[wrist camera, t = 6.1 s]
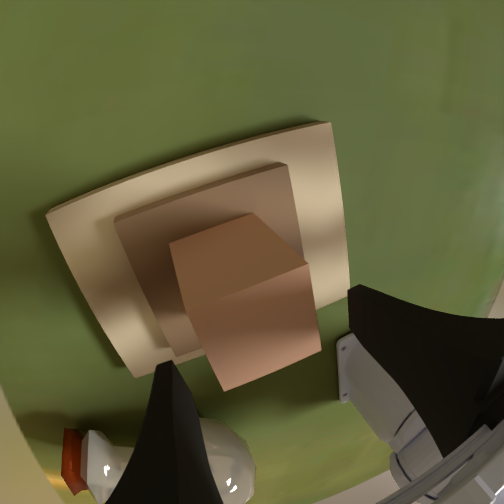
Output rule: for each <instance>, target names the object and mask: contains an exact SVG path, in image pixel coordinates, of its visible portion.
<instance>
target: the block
mask: <svg viewBox="0 0 504 504" xmlns="http://www.w3.org/2000/svg"><path fill="white" fill-rule="evenodd" d="M169 246H170V250H171V255H172V259H173V263H174V267H175V271H176V276H177V280H178V284H179V288H180V291H181V295H182V299H183V303H184V307H185V311H186V313H187V315H188V318H189V320H190V322H191V324H192V326H193V329H194V331H195V333H196V335H197V337H198V339H199V341H200V344H201V346H202V348H203V350H204V352H205V354H206V356H207V358H208V360H209V362H210V364H211V366H212V368H213V371H214V373H215V375H216V377H217V379H218V381H219V383H220V385H221V386H222V388H223V390H224V392H225V391H227V390H230V389H232V388H235V387H238V386H240V385H243V384H245V383H248V382H250V381H253V380H255V379H258V378H260V377H263V376H265V375H267V374H270V373H272V372H274V371H277V370H279V369H281V368H284V367H286V366H288V365H290V364H293V363H295V362H297V361H299V360H302V359H304V358H306V357H308V356H310V355H312V354H315V353H317V352H319V351H321V343H320V336H319V328H318V321H317V314H316V308H315V301H314V294H313V288H312V282H311V275H310V269H309V264H308V263H307V262H306V261H305V260H304V259H303V258H302V257H301V256H300V255H299V254H298V253H297V252H296V251H295V250H293V249H292V248H291V247H290V246H289V245H288V244H287V243H286V242H285V241H284V240H283V239H282V238H281V237H279V236H278V235H277V234H276V233H275V232H274V231H273V230H272V229H271V228H270V227H269V226H268V225H266V224H265V223H264V222H263V221H262V220H261V219H260V218H259V217H258V216H257V215H255V214H254V213H252V214H249V215H246V216H243V217H240V218H238V219H235V220H232V221H229V222H226V223H223V224H221V225H218V226H215V227H212V228H209V229H207V230H204V231H201V232H198V233H196V234H193V235H190V236H188V237H185V238H182V239H179V240H177V241H174V242H171V243H169Z"/></svg>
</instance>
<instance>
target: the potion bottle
mask: <svg viewBox="0 0 504 504" xmlns="http://www.w3.org/2000/svg"><path fill="white" fill-rule="evenodd" d="M199 420H200V425H201V430H202V434H203V439H204V443H205V448H206V452H207V457H208V461H209V465H210V468H211V472H212V475H213V477H214V480H215V483H216V485H217V488H218V491H219V493H220V496H221V498H222V501H223V503H224V504H245V503H246V502H247V501H248V500H249V499H250V498H251V497H252V496H253V495H254V491H255V479H256V465H255V461H254V459H253V457H252V454H251V452H250V450H249V447H248V445H247V442H246V440H245V439H244V438H242V437H241V436H240V435H238V434H237V433H236V432H234V431H233V430H232V429H231V428H229V427H228V426H227V425H226V424H224V423H223V422H222V421H221V420H214V419H207V418H200V417H199ZM134 448H135V447H134V446H123V445H116V444H115V443H114V442H112V441H111V440H110V439H109V438H108V437H107V436H106V435H105V434H103V433H102V432H101V431H100V430H89V431H88V432H87V434H86V435H85V436H83V435H82V434H81V433H80V432H79V431H78V429H68V428H64V438H63V451H62V467H61V476H62V477H63V479H64V481H65V482H66V484H67V485H68V487H69V488H70V490H71V492H72V493H73V495H74V496H75V495H76V494H77V493H79V492H80V491H81V490H88V491H89V492H90V493H91V495H92V496H93V498H94V499H95V500H96V502H97V503H98V504H102V503H103V502H105V501H106V500H107V499H108V498H109V497H110V495H111V494H112V492H113V490H114V488H115V487H116V485H117V483H118V481H119V480H120V478H121V476H122V474H123V472H124V470H125V468H126V466H127V464H128V462H129V459H130V457H131V455H132V453H133V450H134Z"/></svg>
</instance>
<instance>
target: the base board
mask: <svg viewBox="0 0 504 504" xmlns="http://www.w3.org/2000/svg"><path fill="white" fill-rule="evenodd" d="M252 213H254V214H255V215H257V216H258V217H259V218H260V219H261V220H262V221H263V222H264V223H265V224H266V225H268V226H269V227H270V228H271V229H272V230H273V231H274V232H275V233H276V234H277V235H278V236H279V237H281V238H282V239H283V240H284V241H285V242H286V243H287V244H288V245H289V246H290V247H291V248H292V249H293V250H295V251H296V252H297V253H298V254H299V255H300V256H301V257H302V258H303V259H304V260H305V261H306V262H307V263H308V264H309V269H310V275H311V282H312V288H313V294H314V301H315V308H316V310H317V309H319V308H322V307H324V306H326V305H328V304H331V303H333V302H335V301H337V300H339V299H342V298H344V297H346V296H348V295H347V290H348V289H350V281H349V266H348V254H347V242H346V231H345V222H344V212H343V203H342V195H341V187H340V179H339V172H338V165H337V158H336V151H335V145H334V138H333V132H332V126H331V122H326V121H317V122H313V123H308V124H303V125H299V126H295V127H290V128H286V129H282V130H278V131H274V132H270V133H266V134H262V135H258V136H254V137H250V138H247V139H243V140H239V141H236V142H232V143H229V144H225V145H222V146H218V147H215V148H211V149H208V150H205V151H202V152H198V153H195V154H192V155H189V156H186V157H183V158H180V159H176V160H173V161H170V162H167V163H165V164H162V165H159V166H156V167H153V168H150V169H147V170H145V171H142V172H139V173H136V174H134V175H131V176H128V177H126V178H123V179H120V180H118V181H115V182H113V183H110V184H107V185H105V186H102V187H100V188H97V189H95V190H93V191H90V192H88V193H85V194H83V195H81V196H78V197H76V198H74V199H71V200H69V201H67V202H64V203H62V204H60V205H58V206H55V207H53V208H51V209H50V210H49V211H48V212H47V214H46V215H45V216H46V218H47V221H48V223H49V225H50V228H51V230H52V232H53V234H54V237H55V239H56V241H57V243H58V245H59V248H60V250H61V252H62V254H63V256H64V258H65V260H66V262H67V264H68V266H69V268H70V270H71V272H72V274H73V276H74V278H75V280H76V282H77V284H78V286H79V288H80V289H81V291H82V293H83V295H84V297H85V299H86V300H87V302H88V304H89V306H90V308H91V309H92V311H93V313H94V315H95V316H96V318H97V320H98V322H99V323H100V325H101V327H102V328H103V330H104V332H105V333H106V335H107V336H108V338H109V340H110V341H111V343H112V344H113V346H114V348H115V349H116V351H117V352H118V354H119V355H120V357H121V358H122V360H123V362H124V363H125V365H126V366H127V368H128V369H129V370H130V372H131V373H132V375H133V376H134V378H138V377H141V376H144V375H147V374H150V373H153V372H155V368H156V366H157V364H160V363H163V362H166V361H169V360H173V362H174V364H175V365H177V364H180V363H183V362H185V361H188V360H191V359H194V358H197V357H199V356H202V355H205V352H204V350H203V348H202V346H201V344H200V341H199V339H198V337H197V335H196V333H195V331H194V329H193V326H192V324H191V322H190V320H189V318H188V315H187V313H186V311H185V307H184V303H183V299H182V295H181V291H180V288H179V284H178V280H177V276H176V271H175V267H174V263H173V259H172V255H171V250H170V246H169V243H171V242H174V241H177V240H179V239H182V238H185V237H188V236H190V235H193V234H196V233H198V232H201V231H204V230H207V229H209V228H212V227H215V226H218V225H221V224H223V223H226V222H229V221H232V220H235V219H238V218H240V217H243V216H246V215H249V214H252Z"/></svg>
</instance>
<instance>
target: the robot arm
mask: <svg viewBox="0 0 504 504" xmlns="http://www.w3.org/2000/svg"><path fill="white" fill-rule="evenodd" d="M347 295H348V312H349V328H350V329H351V331H352V332H353V333H351V334H349V335H347V336H345V337H343V338H341V339H339V340H338V341H337V344H336V348H337V363H338V381H339V400H340V402H341V403H345V402H347V401H349V400H351V402H352V403H353V404H354V406H355V407H356V408H357V410H358V411H359V412H360V414H361V415H362V416H363V418H364V419H365V420H366V422H367V423H368V424H369V426H370V427H371V428H372V430H373V431H374V432H375V434H376V435H377V436H378V437H379V438H380V439H381V440H382V441H384V442H386V443H388V444H389V445H390V446H391V448H392V449H393V450H394V452H392V453H391V455H390V471H391V474H392V476H393V478H394V480H395V481H396V483H397V484H398V486H399V487H400V488H401V489H399V490H398V491H396V492H394V493H393V494H391V495H389V496H388V497H387V498H385V499H383V500H381V501H379V502H378V503H376V504H411V503H413V502H414V501H416V502H418V503H421V504H504V318H502V319H495V318H475V317H467V316H459V315H453V314H448V313H444V312H439V311H435V310H431V309H428V308H424V307H421V306H418V305H414V304H412V303H409V302H406V301H403V300H400V299H397V298H395V297H392V296H389V295H387V294H384V293H382V292H379V291H377V290H374V289H371V288H369V287H366V286H363V285H360V284H359V285H357V286H355V287H353V288H350V289H348V290H347ZM105 504H224V503H223V501H222V498H221V496H220V493H219V491H218V488H217V485H216V483H215V480H214V477H213V475H212V472H211V468H210V465H209V461H208V457H207V452H206V448H205V443H204V439H203V434H202V430H201V425H200V420H199V415H198V412H197V409H196V406H195V403H194V400H193V397H192V394H191V392H190V390H189V388H188V386H187V385H186V383H185V381H184V380H183V378H182V376H181V374H180V373H179V371H178V369H177V367H176V366H175V364H174V362H173V360H169V361H166V362H163V363H160V364H157V366H156V368H155V374H154V379H153V384H152V389H151V394H150V398H149V402H148V406H147V410H146V414H145V418H144V421H143V424H142V428H141V431H140V434H139V437H138V440H137V442H136V445H135V448H134V450H133V453H132V455H131V457H130V459H129V462H128V464H127V466H126V468H125V470H124V472H123V474H122V476H121V478H120V480H119V481H118V483H117V485H116V487H115V488H114V490H113V492H112V494H111V495H110V497H109V498H108V500H107V501H106V503H105Z"/></svg>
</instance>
